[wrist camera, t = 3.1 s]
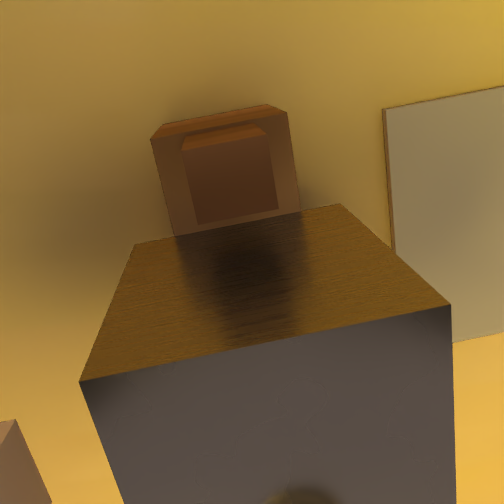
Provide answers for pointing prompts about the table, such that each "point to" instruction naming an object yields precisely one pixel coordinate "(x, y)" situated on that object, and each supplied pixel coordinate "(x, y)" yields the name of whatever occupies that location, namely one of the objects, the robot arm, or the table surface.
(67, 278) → the table surface
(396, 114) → the mat
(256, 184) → the plane body
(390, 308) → the lever cap
